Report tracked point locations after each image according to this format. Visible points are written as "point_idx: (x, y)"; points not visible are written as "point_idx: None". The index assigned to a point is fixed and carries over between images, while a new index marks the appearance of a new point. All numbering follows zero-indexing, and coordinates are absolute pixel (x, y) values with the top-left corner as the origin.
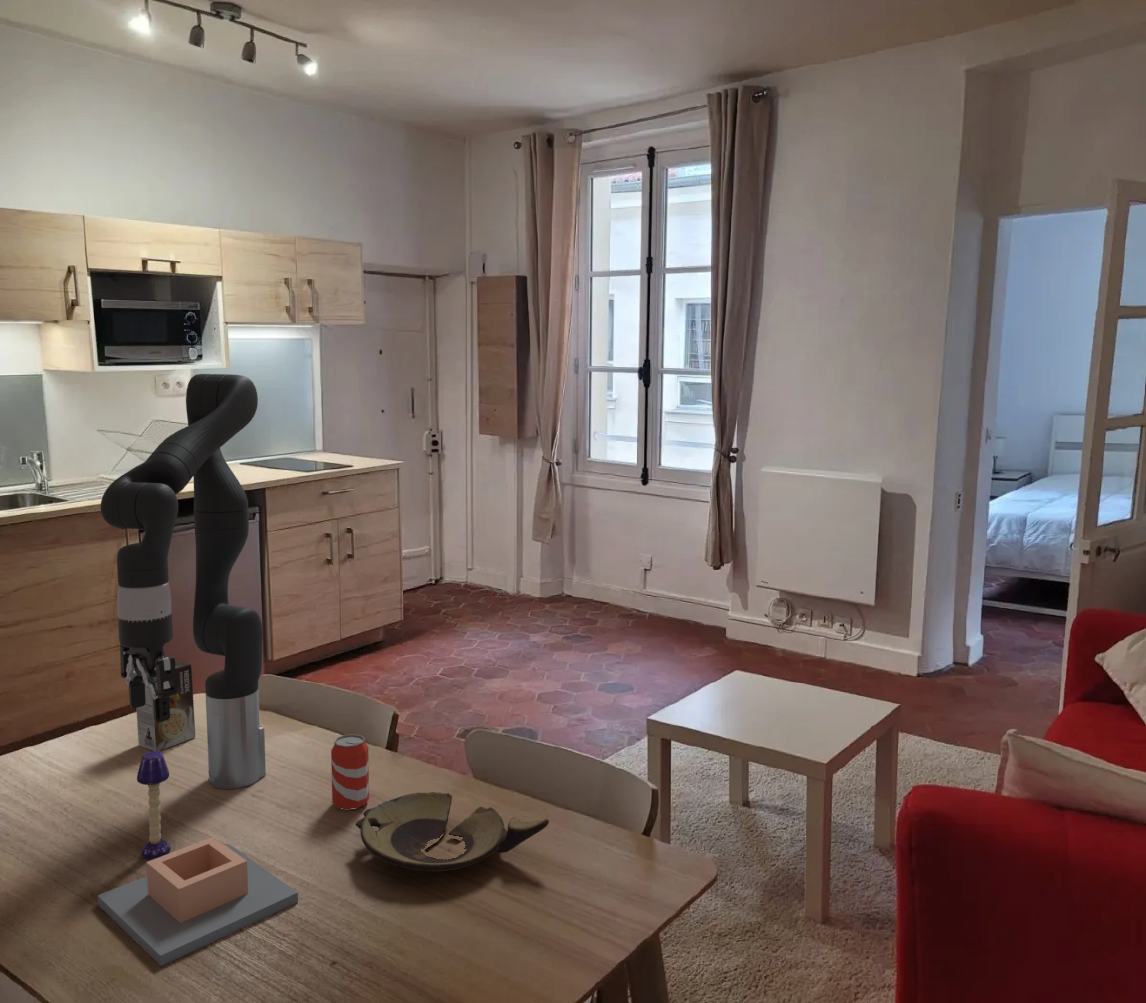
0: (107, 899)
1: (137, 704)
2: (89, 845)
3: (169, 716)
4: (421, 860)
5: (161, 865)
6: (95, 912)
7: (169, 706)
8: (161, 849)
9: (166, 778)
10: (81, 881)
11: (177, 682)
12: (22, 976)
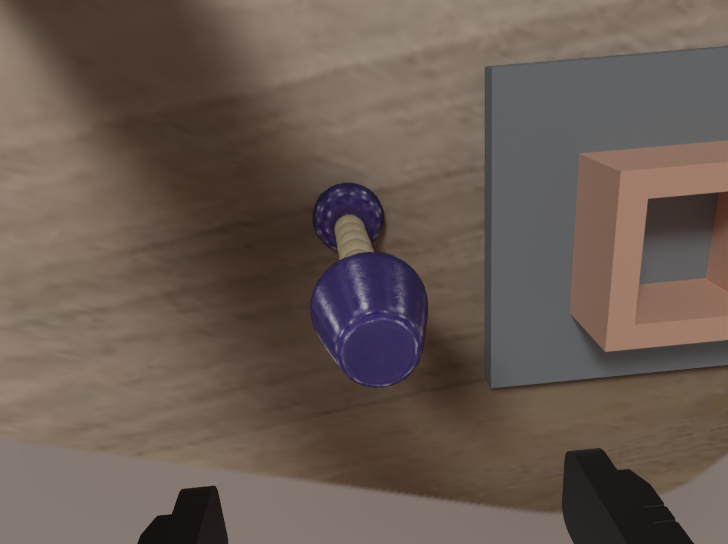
0: (522, 378)
1: (219, 538)
2: (201, 325)
3: (607, 458)
4: None
5: (649, 330)
6: None
7: (641, 508)
8: (379, 218)
9: (417, 274)
10: None
11: None
12: None
